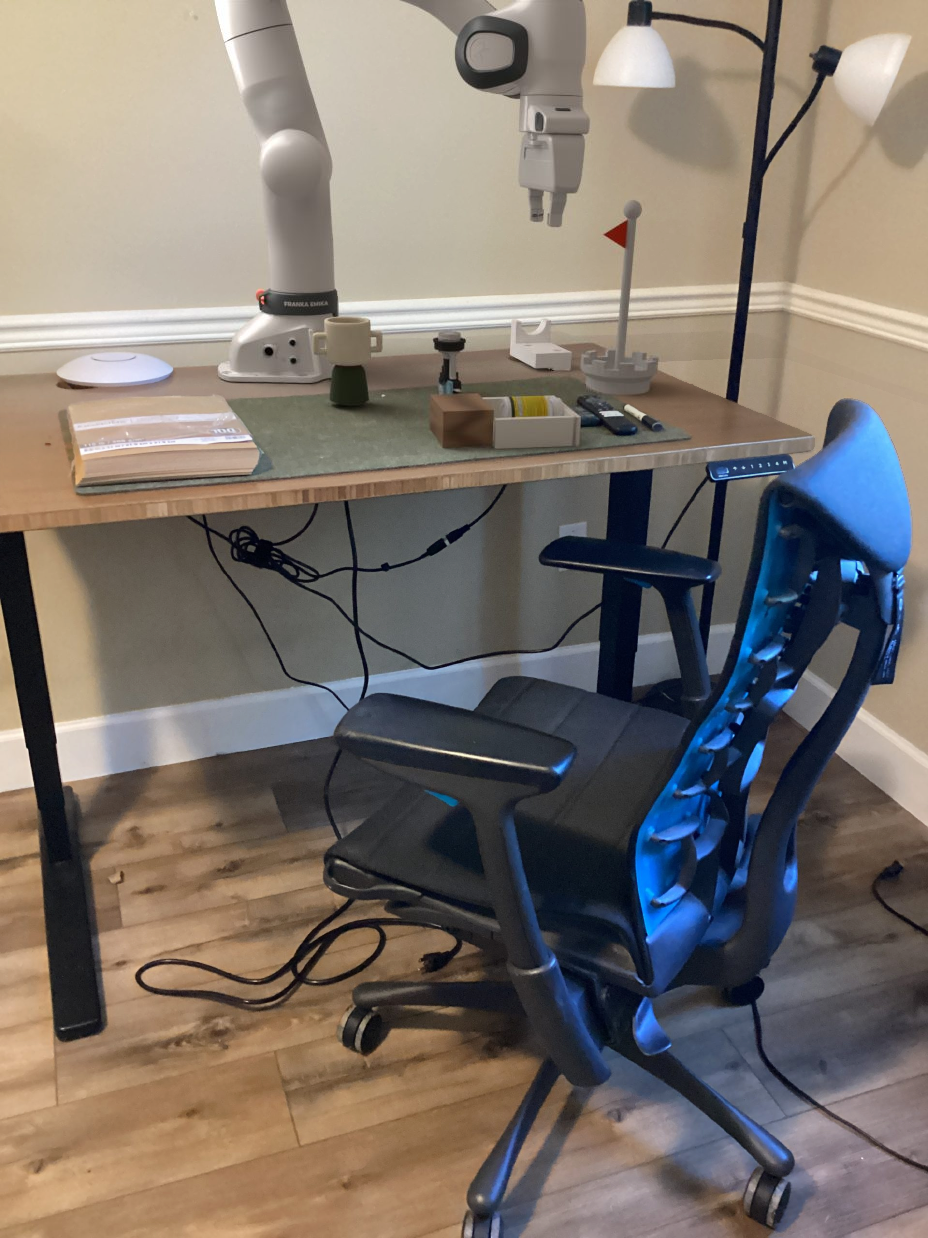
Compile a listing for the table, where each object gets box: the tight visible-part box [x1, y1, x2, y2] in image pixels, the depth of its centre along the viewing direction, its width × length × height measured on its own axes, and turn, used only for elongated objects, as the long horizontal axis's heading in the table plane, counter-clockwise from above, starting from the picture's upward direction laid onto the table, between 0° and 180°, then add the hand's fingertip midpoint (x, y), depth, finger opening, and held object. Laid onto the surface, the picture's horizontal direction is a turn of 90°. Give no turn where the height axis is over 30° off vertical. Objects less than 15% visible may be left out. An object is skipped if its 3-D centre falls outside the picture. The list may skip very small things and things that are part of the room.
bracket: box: [509, 318, 573, 371], centre depth 190 cm, size 13×7×8 cm, turn 18°
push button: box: [432, 330, 467, 394], centre depth 164 cm, size 7×5×10 cm
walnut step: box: [429, 392, 494, 449], centre depth 143 cm, size 7×10×5 cm
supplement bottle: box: [500, 395, 564, 418], centre depth 144 cm, size 5×5×8 cm
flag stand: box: [580, 199, 659, 396], centre depth 169 cm, size 13×13×30 cm
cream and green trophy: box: [312, 315, 383, 406], centre depth 157 cm, size 11×7×13 cm, turn 108°
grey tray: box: [482, 395, 582, 450], centre depth 145 cm, size 12×13×4 cm
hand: (545, 224), depth 149 cm, fingers open, 8 cm apart
